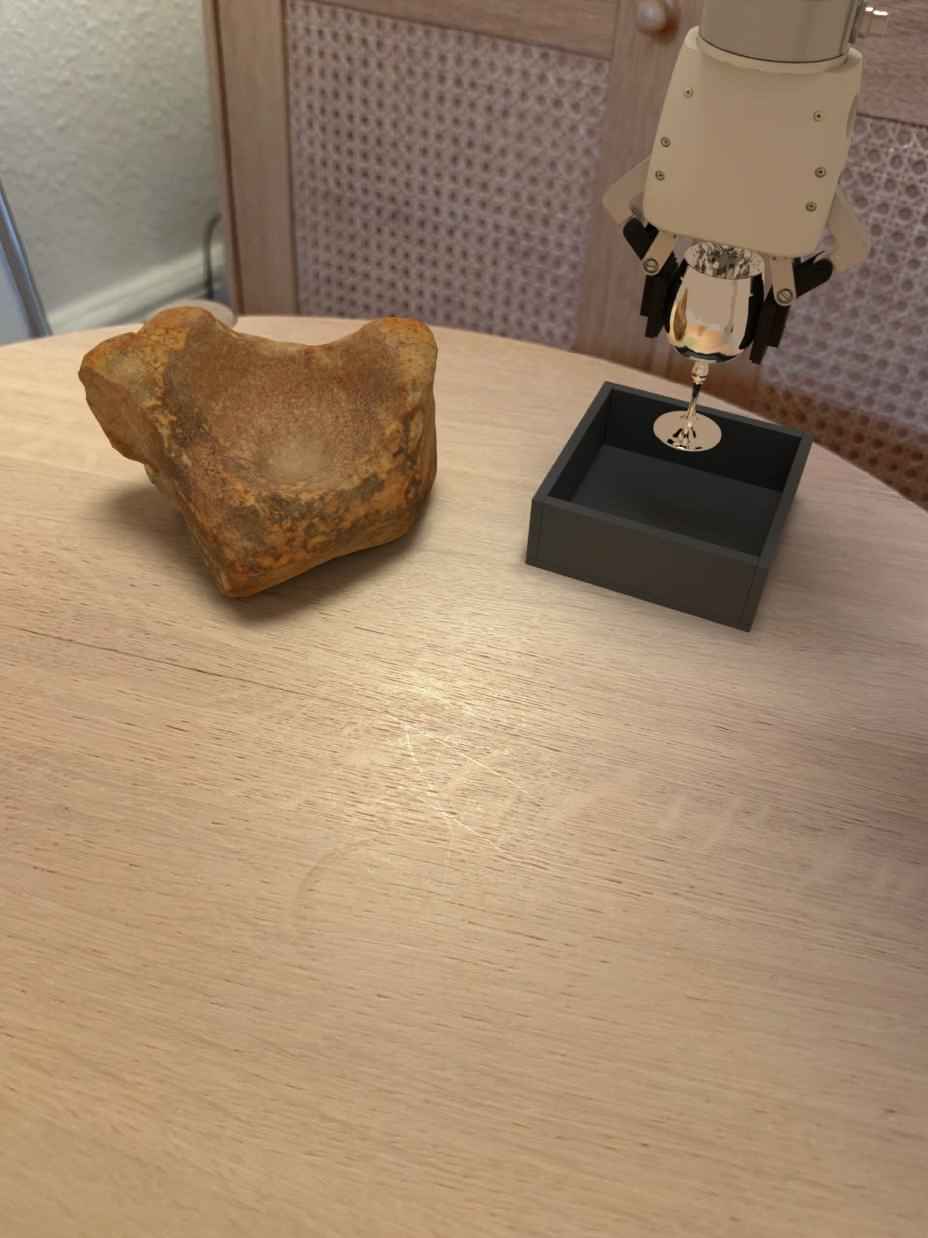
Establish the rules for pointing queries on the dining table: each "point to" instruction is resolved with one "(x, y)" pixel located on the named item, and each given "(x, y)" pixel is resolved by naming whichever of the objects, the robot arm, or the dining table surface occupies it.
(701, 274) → the wineglass
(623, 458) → the dish tub
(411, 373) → the rough brown rock
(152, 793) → the dining table surface
